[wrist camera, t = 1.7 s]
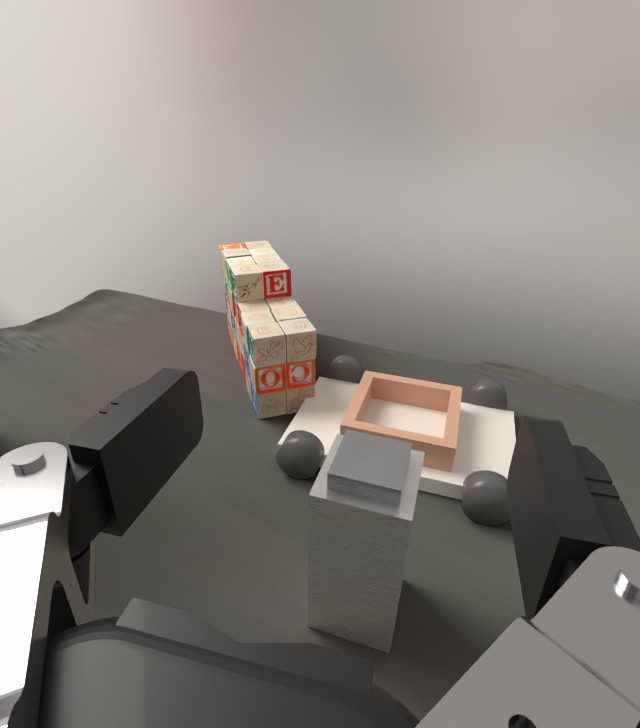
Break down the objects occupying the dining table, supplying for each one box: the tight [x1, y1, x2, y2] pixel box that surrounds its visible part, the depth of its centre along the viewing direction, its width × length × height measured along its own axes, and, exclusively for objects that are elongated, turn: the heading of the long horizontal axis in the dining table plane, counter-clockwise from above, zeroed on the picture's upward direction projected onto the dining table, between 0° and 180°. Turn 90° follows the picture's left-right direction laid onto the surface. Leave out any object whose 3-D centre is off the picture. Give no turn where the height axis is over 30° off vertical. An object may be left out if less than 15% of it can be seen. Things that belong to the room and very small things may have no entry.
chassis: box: [276, 355, 516, 525], centre depth 42 cm, size 20×16×4 cm
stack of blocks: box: [219, 241, 317, 419], centre depth 52 cm, size 21×6×12 cm, turn 18°
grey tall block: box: [308, 430, 425, 654], centre depth 26 cm, size 5×5×12 cm
